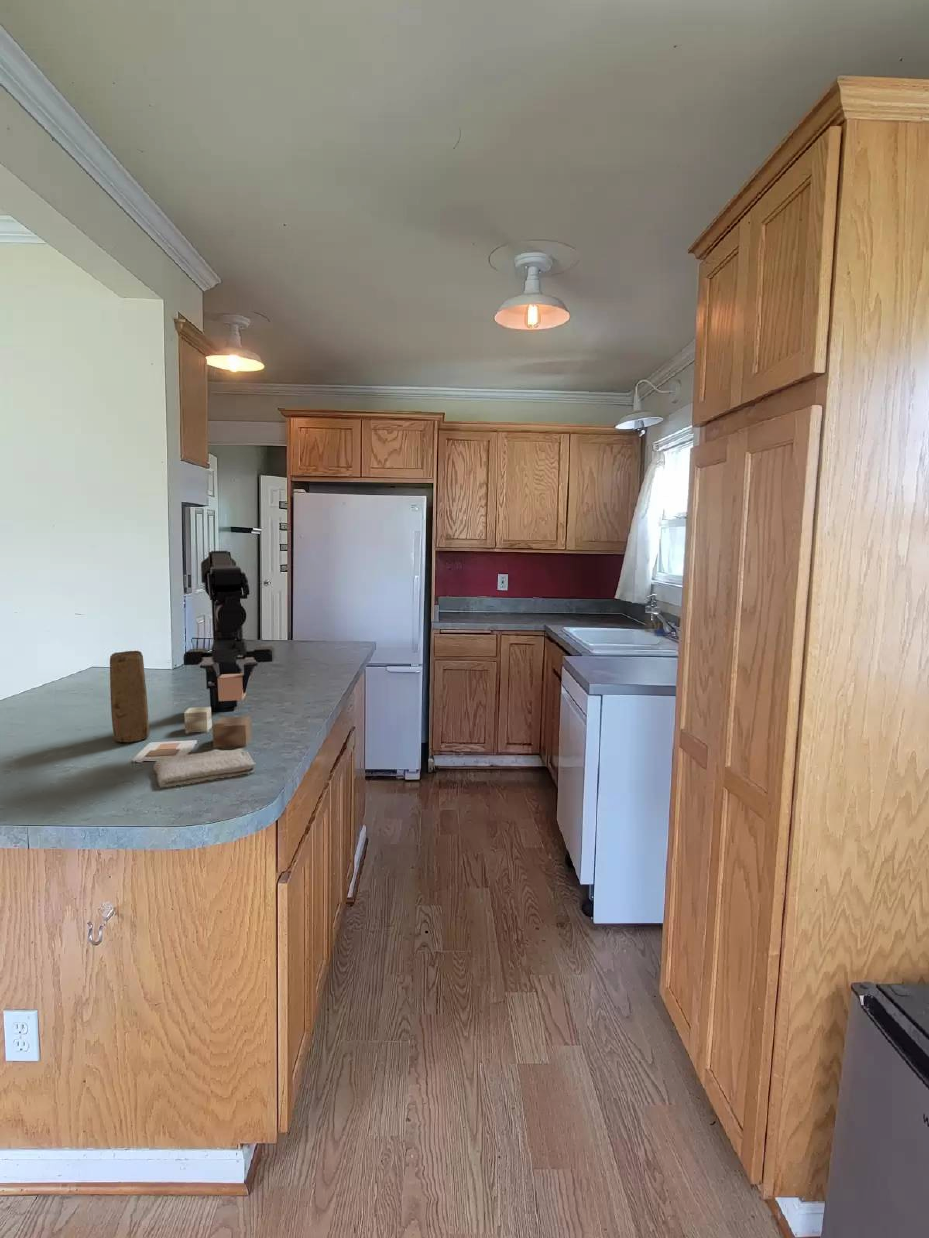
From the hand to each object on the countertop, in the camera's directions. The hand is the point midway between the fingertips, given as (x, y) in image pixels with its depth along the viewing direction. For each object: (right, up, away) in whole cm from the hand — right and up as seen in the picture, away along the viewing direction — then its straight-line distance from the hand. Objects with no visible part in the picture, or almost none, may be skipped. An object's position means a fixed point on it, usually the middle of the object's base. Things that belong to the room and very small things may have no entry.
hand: (232, 693), depth 150 cm
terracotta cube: (0, -1, 0) cm, 1 cm away
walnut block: (0, -11, +1) cm, 11 cm away
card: (-12, -12, -6) cm, 18 cm away
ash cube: (-12, -10, +11) cm, 19 cm away
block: (-25, -11, +5) cm, 28 cm away
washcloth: (+1, -14, -18) cm, 23 cm away
